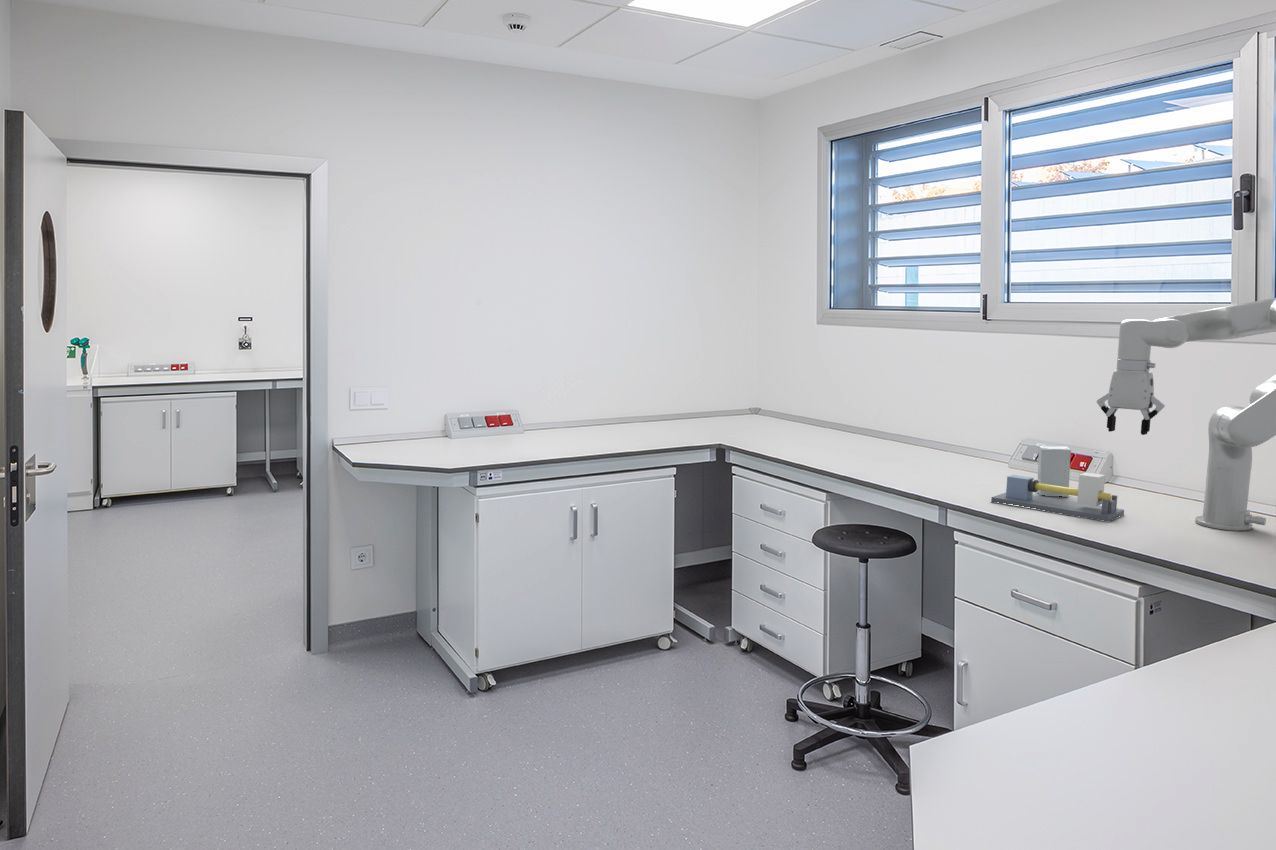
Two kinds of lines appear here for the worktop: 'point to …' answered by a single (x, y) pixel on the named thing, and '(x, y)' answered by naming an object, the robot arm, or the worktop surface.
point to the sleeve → (1090, 488)
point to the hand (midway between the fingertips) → (1127, 432)
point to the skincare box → (1054, 467)
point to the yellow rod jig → (1024, 487)
